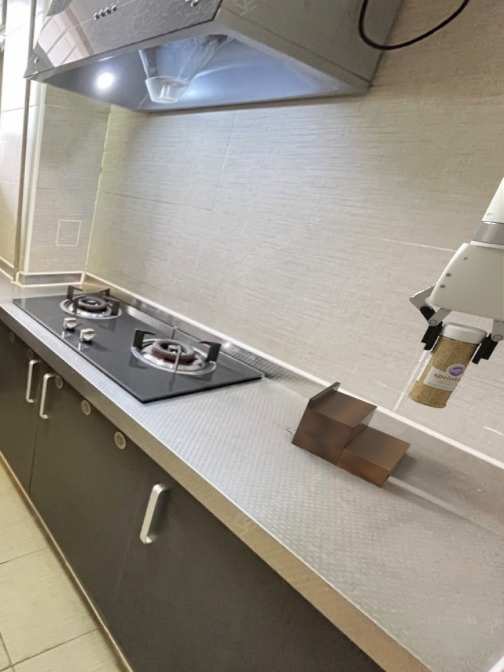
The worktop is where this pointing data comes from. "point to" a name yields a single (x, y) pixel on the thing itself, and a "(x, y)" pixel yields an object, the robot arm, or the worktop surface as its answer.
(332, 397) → the spice rack
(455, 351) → the sprinkles bottle
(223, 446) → the worktop surface
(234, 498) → the worktop surface
